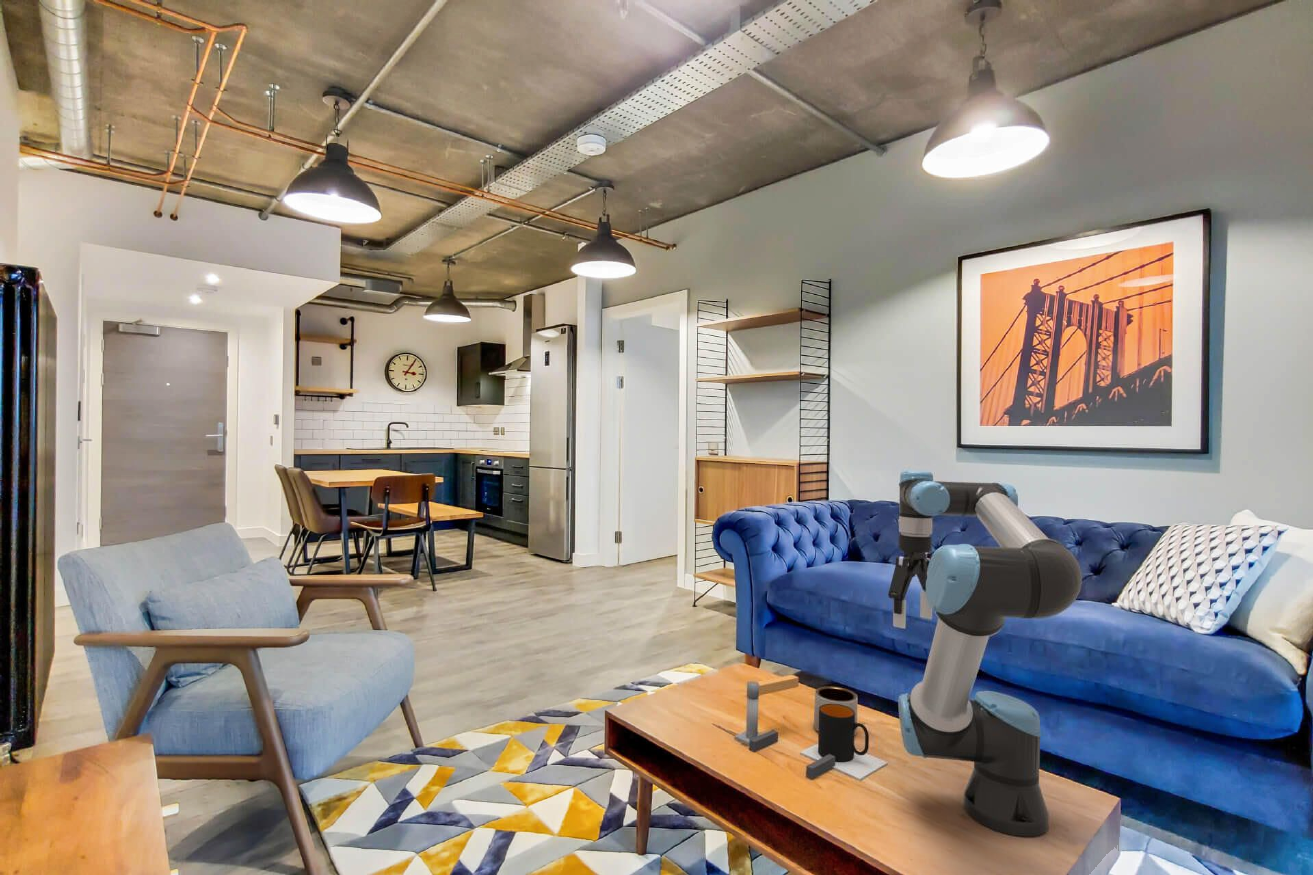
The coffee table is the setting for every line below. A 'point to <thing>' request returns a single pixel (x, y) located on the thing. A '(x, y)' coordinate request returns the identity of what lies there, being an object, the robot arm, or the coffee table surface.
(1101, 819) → the coffee table surface
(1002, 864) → the coffee table surface
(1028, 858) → the coffee table surface
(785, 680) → the wooden bar
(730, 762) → the coffee table surface
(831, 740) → the mug
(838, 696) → the planter
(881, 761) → the mat
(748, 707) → the dock
